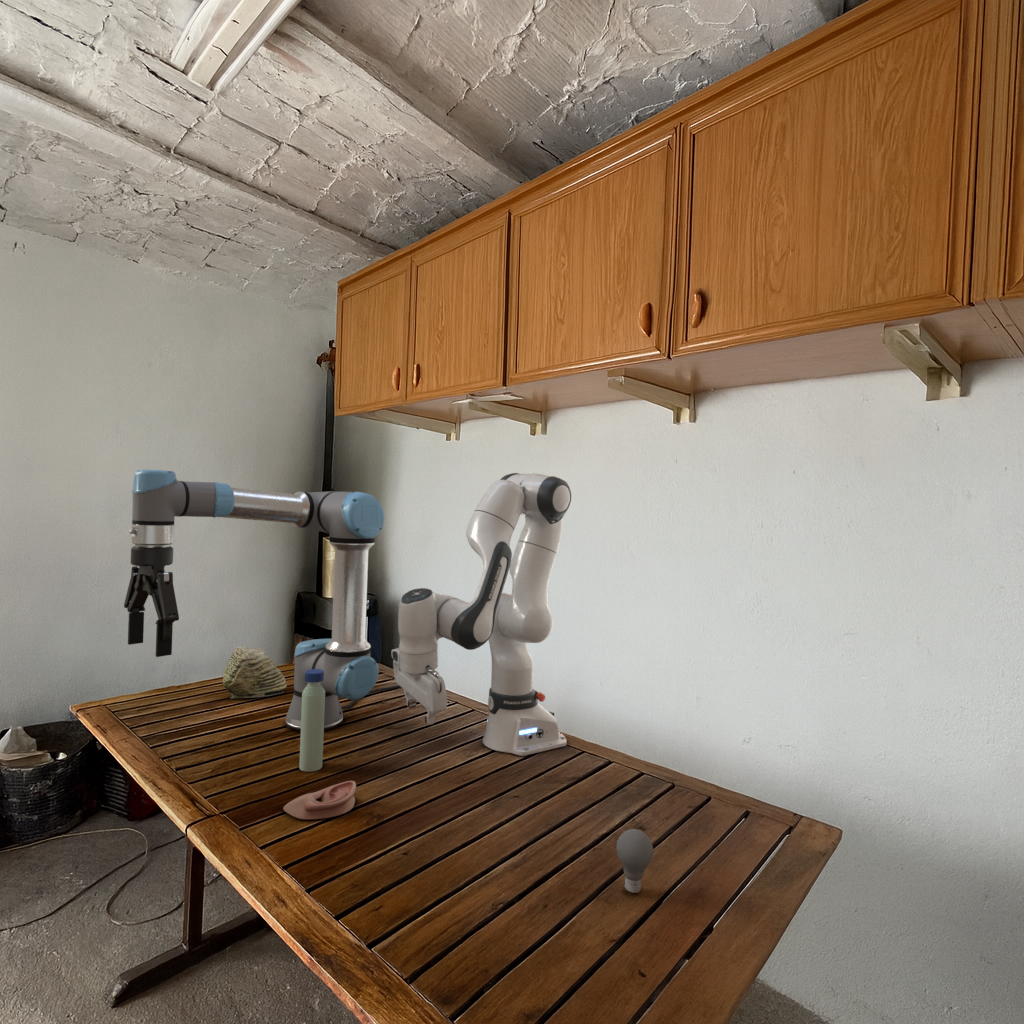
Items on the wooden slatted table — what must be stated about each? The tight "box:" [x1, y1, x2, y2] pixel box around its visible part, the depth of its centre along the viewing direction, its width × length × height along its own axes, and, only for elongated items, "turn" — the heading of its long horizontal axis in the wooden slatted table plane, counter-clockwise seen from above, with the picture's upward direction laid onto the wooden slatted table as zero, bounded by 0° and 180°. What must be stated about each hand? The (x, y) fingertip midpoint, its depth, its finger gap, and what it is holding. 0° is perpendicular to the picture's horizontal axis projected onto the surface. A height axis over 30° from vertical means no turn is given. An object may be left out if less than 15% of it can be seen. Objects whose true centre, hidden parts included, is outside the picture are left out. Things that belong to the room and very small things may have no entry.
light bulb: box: [615, 828, 654, 894], centre depth 106 cm, size 6×6×10 cm
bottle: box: [298, 682, 325, 773], centre depth 148 cm, size 5×5×22 cm
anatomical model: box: [282, 780, 357, 820], centre depth 129 cm, size 13×4×12 cm
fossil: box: [222, 646, 288, 699], centre depth 198 cm, size 9×18×15 cm, turn 132°
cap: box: [305, 669, 324, 683], centre depth 148 cm, size 4×4×2 cm
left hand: (149, 649), depth 129 cm, fingers open, 13 cm apart
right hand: (420, 714), depth 149 cm, fingers open, 8 cm apart
